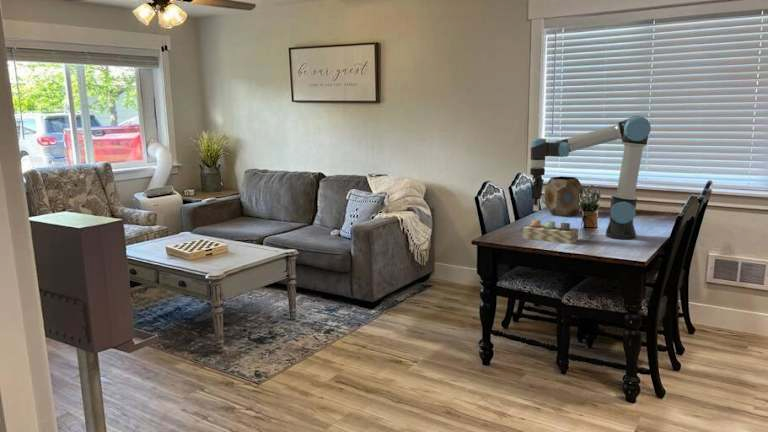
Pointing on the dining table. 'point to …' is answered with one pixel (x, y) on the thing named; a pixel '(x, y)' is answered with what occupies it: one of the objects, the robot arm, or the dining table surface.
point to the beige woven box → (550, 234)
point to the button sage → (550, 225)
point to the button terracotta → (536, 223)
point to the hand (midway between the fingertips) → (536, 210)
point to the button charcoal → (565, 226)
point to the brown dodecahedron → (563, 196)
